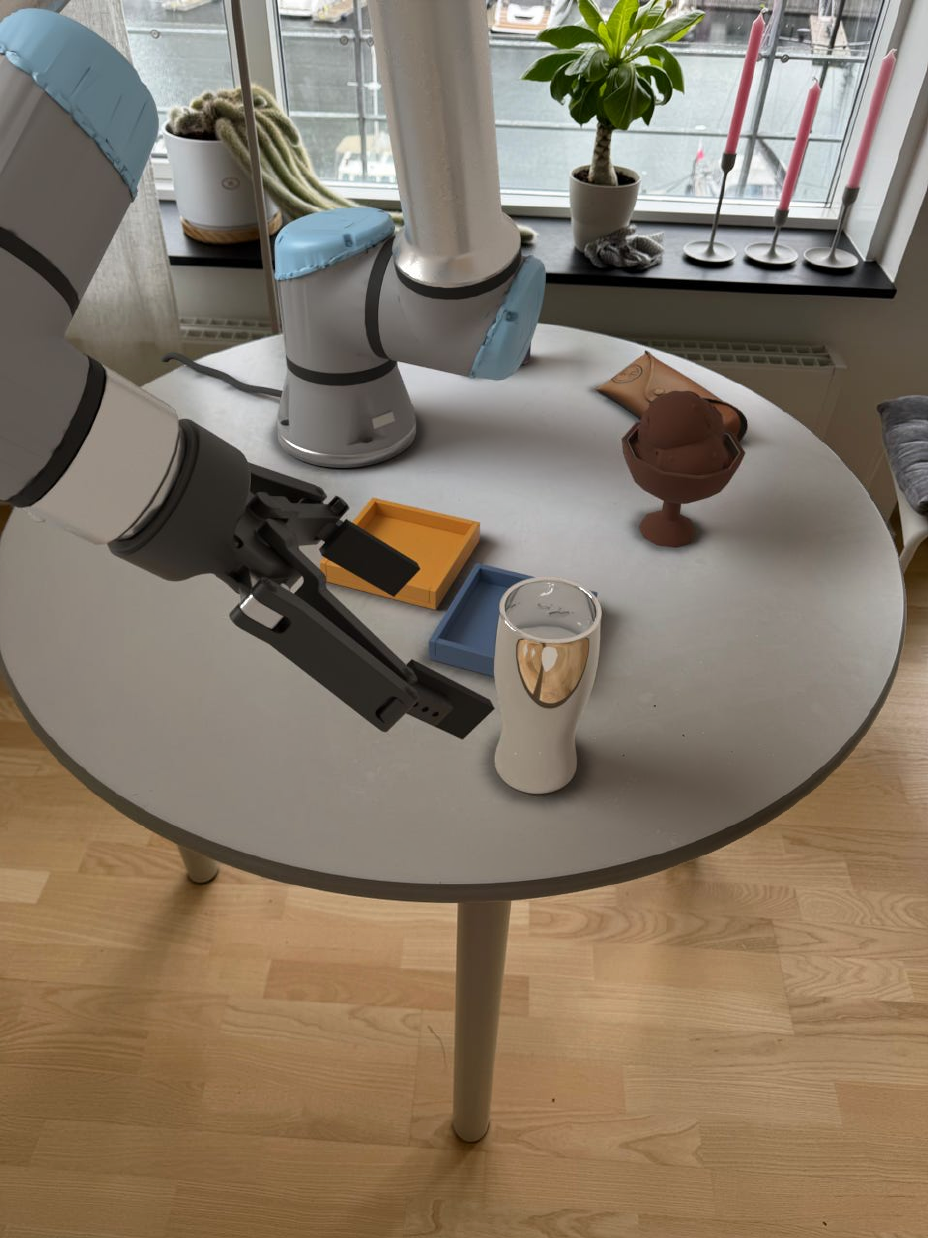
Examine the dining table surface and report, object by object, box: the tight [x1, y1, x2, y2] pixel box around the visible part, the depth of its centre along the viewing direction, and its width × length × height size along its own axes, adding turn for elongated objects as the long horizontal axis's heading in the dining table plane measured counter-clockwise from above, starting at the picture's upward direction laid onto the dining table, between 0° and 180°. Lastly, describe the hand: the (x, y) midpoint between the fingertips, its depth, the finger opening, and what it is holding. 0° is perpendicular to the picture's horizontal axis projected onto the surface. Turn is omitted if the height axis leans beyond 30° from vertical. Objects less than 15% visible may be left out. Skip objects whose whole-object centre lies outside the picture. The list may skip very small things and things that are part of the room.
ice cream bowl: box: [621, 391, 746, 548], centre depth 89 cm, size 11×11×15 cm
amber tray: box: [319, 497, 481, 611], centre depth 89 cm, size 11×11×2 cm
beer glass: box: [493, 576, 603, 795], centre depth 66 cm, size 7×7×15 cm
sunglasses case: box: [594, 349, 749, 443], centre depth 111 cm, size 18×7×7 cm
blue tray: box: [428, 562, 598, 678], centre depth 82 cm, size 11×11×2 cm
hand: (438, 644), depth 60 cm, fingers open, 13 cm apart
